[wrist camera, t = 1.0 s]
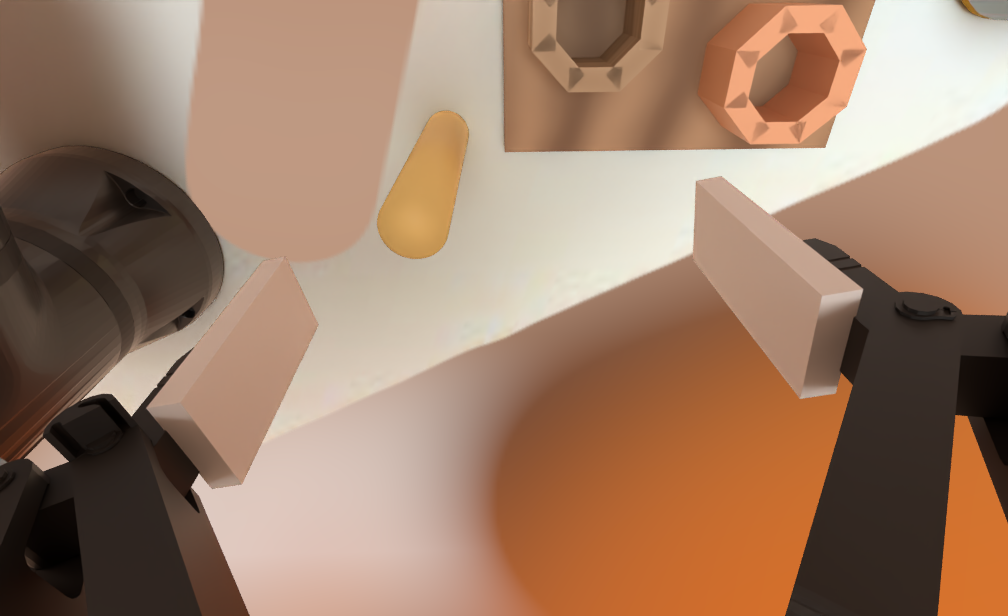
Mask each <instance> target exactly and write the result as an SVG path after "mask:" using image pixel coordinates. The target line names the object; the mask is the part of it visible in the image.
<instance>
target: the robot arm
mask: <svg viewBox="0 0 1008 616" xmlns="http://www.w3.org/2000/svg"><path fill="white" fill-rule="evenodd" d="M693 260H694V262H695V263H696V264H697V266H698V267H699V268H700V270H701V271H702V272H703V273H704V275H705V276H706V277H707V279H708V280H709V281H710V282H711V284H712V285H713V286H714V288H715V289H716V290H717V292H718V293H719V294H720V296H721V297H722V298H723V299H724V301H725V302H726V303H727V305H728V306H729V307H730V308H731V310H732V311H733V312H734V314H735V315H736V316H737V318H738V319H739V320H740V321H741V322H742V324H743V325H744V326H745V328H746V329H747V330H748V332H749V333H750V334H751V336H752V337H753V338H754V339H755V341H756V342H757V343H758V345H759V346H760V347H761V349H762V350H763V351H764V353H765V354H766V355H767V356H768V358H769V359H770V360H771V362H772V363H773V364H774V365H775V367H776V368H777V369H778V371H779V372H780V373H781V375H782V376H783V377H784V378H785V380H786V381H787V382H788V384H789V385H790V386H791V388H792V389H793V390H794V391H795V393H796V394H797V395H798V397H799V398H800V399H802V398H809V397H815V396H821V395H828V394H835V393H836V390H837V386H838V382H839V378H840V375H841V373H842V374H843V375H844V376H845V377H846V378H847V379H848V380H849V381H850V382H851V383H852V385H853V387H852V390H851V394H850V397H849V401H848V404H847V408H846V411H845V414H844V418H843V421H842V425H841V428H840V431H839V435H838V438H837V442H836V445H835V448H834V452H833V455H832V459H831V462H830V465H829V469H828V472H827V476H826V479H825V482H824V486H823V489H822V493H821V496H820V499H819V503H818V507H817V510H816V513H815V516H814V520H813V524H812V527H811V530H810V533H809V537H808V540H807V544H806V547H805V550H804V554H803V557H802V561H801V564H800V568H799V571H798V574H797V578H796V581H795V584H794V588H793V591H792V595H791V598H790V602H789V605H788V608H787V611H786V615H785V616H937V615H938V604H939V592H940V580H941V570H942V559H943V547H944V536H945V525H946V514H947V503H948V492H949V480H950V469H951V457H952V447H953V435H954V423H955V415H962V416H968V419H969V421H970V424H971V427H972V429H973V432H974V435H975V437H976V440H977V442H978V445H979V448H980V451H981V453H982V456H983V458H984V461H985V464H986V466H987V469H988V472H989V474H990V477H991V480H992V482H993V485H994V487H995V490H996V493H997V495H998V498H999V501H1000V503H1001V506H1002V509H1003V511H1004V514H1005V517H1006V519H1007V522H1008V313H1007V315H1006V316H995V315H963V314H962V312H961V310H959V309H958V308H957V307H956V306H955V305H953V304H952V303H950V302H948V301H946V300H944V299H942V298H939V297H936V296H932V295H928V294H924V293H915V292H898V291H896V290H895V289H893V288H892V287H891V286H889V285H888V284H887V283H885V282H884V281H883V280H881V279H880V278H879V277H877V276H876V275H875V274H873V273H872V272H871V271H869V270H868V269H866V268H865V267H861V264H859V263H858V262H857V261H856V260H854V259H850V256H849V255H847V254H846V253H844V252H843V251H842V250H841V249H839V248H838V247H836V246H835V245H832V244H829V243H826V242H824V241H821V240H818V239H816V238H815V239H808V240H803V241H802V240H801V239H800V238H798V237H797V236H796V235H795V234H793V233H792V232H791V231H789V230H788V229H787V228H786V227H784V226H783V225H782V224H781V223H779V222H778V221H777V220H776V219H774V218H773V217H772V216H771V215H769V214H768V213H767V212H766V211H764V210H763V209H762V208H761V207H759V206H758V205H757V204H756V203H754V202H753V201H752V200H751V199H749V198H748V197H747V196H745V195H744V194H743V193H742V192H740V191H739V190H738V189H737V188H735V187H734V186H733V185H732V184H730V183H729V182H728V181H727V180H725V179H724V178H723V177H722V176H721V177H715V178H710V179H704V180H699V181H696V193H695V219H694V245H693ZM222 280H223V259H222V253H221V249H220V246H219V243H218V241H217V238H216V236H215V234H214V232H213V230H212V228H211V226H210V224H209V223H208V221H207V220H206V218H205V216H204V215H203V214H202V212H201V211H200V210H199V209H198V207H197V206H196V205H195V204H194V203H193V202H192V200H191V199H190V198H189V197H188V196H187V195H186V194H185V193H184V192H183V191H182V190H180V189H179V188H178V187H177V186H176V185H175V184H173V183H172V182H171V181H169V180H168V179H167V178H165V177H164V176H163V175H161V174H160V173H158V172H156V171H155V170H153V169H152V168H150V167H148V166H146V165H144V164H143V163H140V162H138V161H136V160H134V159H132V158H130V157H127V156H125V155H122V154H119V153H116V152H112V151H109V150H105V149H101V148H95V147H87V146H66V147H59V148H54V149H50V150H47V151H44V152H42V153H39V154H36V155H33V156H31V157H28V158H25V159H23V160H21V161H18V162H17V163H15V164H13V165H12V166H10V167H9V168H7V169H6V170H5V171H3V172H2V173H1V174H0V616H250V615H249V614H248V611H247V609H246V606H245V604H244V601H243V599H242V597H241V594H240V592H239V590H238V587H237V585H236V582H235V580H234V578H233V575H232V573H231V571H230V568H229V566H228V564H227V561H226V559H225V556H224V554H223V552H222V550H221V547H220V545H219V543H218V540H217V538H216V535H215V533H214V531H213V528H212V526H211V524H210V521H209V519H208V517H207V514H206V512H205V509H204V507H203V505H202V502H201V500H200V498H199V496H198V495H197V493H196V492H195V491H194V490H193V489H192V488H191V486H192V484H193V483H194V481H195V479H196V477H197V476H198V474H200V475H201V476H202V477H203V478H204V480H205V481H206V482H207V484H208V485H209V486H210V487H211V488H212V489H215V488H221V487H227V486H234V485H241V484H242V483H243V481H244V479H245V477H246V475H247V473H248V471H249V469H250V466H251V464H252V462H253V460H254V458H255V456H256V454H257V452H258V450H259V448H260V446H261V444H262V441H263V439H264V437H265V435H266V433H267V431H268V429H269V427H270V425H271V423H272V421H273V419H274V416H275V414H276V412H277V410H278V408H279V406H280V404H281V402H282V400H283V398H284V396H285V394H286V391H287V389H288V387H289V385H290V383H291V381H292V379H293V377H294V375H295V373H296V371H297V369H298V366H299V364H300V362H301V360H302V358H303V356H304V354H305V352H306V350H307V348H308V346H309V343H310V341H311V339H312V337H313V335H314V333H315V331H316V329H317V327H318V323H317V321H316V319H315V317H314V314H313V312H312V310H311V308H310V306H309V304H308V302H307V300H306V298H305V296H304V294H303V292H302V289H301V287H300V285H299V283H298V281H297V279H296V277H295V275H294V273H293V271H292V269H291V267H290V264H289V262H288V260H287V258H286V257H280V258H275V259H269V260H264V261H262V263H261V264H260V265H259V266H258V268H257V269H256V270H255V272H254V273H253V274H252V275H251V277H250V278H249V279H248V280H247V282H246V283H245V284H244V285H243V287H242V288H241V289H240V290H239V292H238V293H237V294H236V296H235V297H234V298H233V299H232V301H231V302H230V303H229V304H228V306H227V307H226V308H225V309H224V311H223V312H222V313H221V314H220V316H219V317H218V318H217V319H216V321H215V322H214V323H213V325H212V326H211V327H210V328H209V330H208V331H207V332H206V333H205V335H204V336H203V337H202V338H201V340H200V341H199V342H198V343H197V345H196V346H195V347H194V348H192V349H191V350H190V351H189V352H187V353H186V354H185V355H184V356H182V357H181V358H180V359H178V360H177V361H176V362H175V364H174V365H173V366H172V367H171V369H170V370H169V371H168V372H167V374H166V377H163V379H162V380H161V381H160V382H159V383H158V385H157V388H154V390H153V391H152V392H151V393H150V395H149V396H148V397H147V398H146V399H145V401H144V402H143V403H142V404H141V406H140V407H139V408H138V409H137V411H136V412H135V413H134V414H133V416H132V417H131V416H130V415H129V413H128V412H127V411H126V410H125V409H124V408H123V406H122V405H121V404H120V403H119V402H118V400H117V399H116V398H115V397H114V396H113V395H112V394H100V395H96V396H92V397H89V398H87V399H84V400H82V399H83V398H84V397H85V396H86V395H87V394H88V393H89V392H90V391H91V390H92V389H93V388H94V387H95V386H96V385H97V384H98V383H99V382H100V381H101V380H102V379H103V378H104V377H105V375H106V374H107V373H108V372H109V371H110V370H111V369H112V368H113V367H114V366H115V365H116V364H117V363H118V362H119V361H120V360H121V359H122V358H123V357H124V356H125V355H127V354H128V353H130V352H133V351H135V350H137V349H139V348H142V347H144V346H146V345H148V344H151V343H153V342H155V341H157V340H159V339H162V338H164V337H166V336H168V335H171V334H173V333H175V332H177V331H180V330H181V329H183V328H185V327H187V326H188V325H189V324H191V323H192V322H194V321H195V320H196V319H197V318H198V317H199V316H200V315H201V314H202V313H203V312H204V311H205V310H206V308H207V307H208V306H209V305H210V304H211V303H212V302H213V300H214V299H215V298H216V296H217V294H218V292H219V290H220V287H221V284H222ZM81 400H82V401H81ZM44 438H45V439H46V440H47V441H48V442H49V443H51V445H53V446H54V447H55V448H56V449H57V450H58V451H59V452H60V453H61V454H62V455H63V456H64V457H65V458H66V459H67V460H68V461H69V462H67V463H65V464H62V465H59V466H57V467H54V468H51V469H49V470H46V471H42V470H41V469H40V468H39V467H37V466H36V465H35V464H34V463H33V462H32V461H30V460H29V459H24V458H25V457H26V456H27V455H28V454H29V453H30V452H31V451H32V450H33V449H34V448H35V447H36V446H37V445H38V444H39V443H40V442H41V441H42V440H43V439H44Z"/></svg>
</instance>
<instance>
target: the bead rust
mask: <svg viewBox="0 0 1008 616" xmlns="http://www.w3.org/2000/svg"><path fill="white" fill-rule="evenodd" d="M786 35H788V36H789V38H790V40H791V41H792V43H793V44H794V46H795V48H796V49H797V51H798V52H797V56H796V60H795V63H794V67H793V70H792V74H791V77H790V81H789V84H788V85H787V86H786V87H785V88H783V89H782V90H781V91H780V92H779V93H777V94H776V95H775V96H774V97H773V98H771V99H770V100H769V101H768V102H767V103H766V104H764V105H763V106H753V104H752V103H751V101H750V100H749V98H748V97H749V93H750V89H751V85H752V81H753V77H754V73H755V68H756V64H757V61H758V60H759V59H761V58H762V57H763V56H764V55H765V54H766V53H767V52H768V51H770V50H771V49H772V48H773V47H774V46H775V45H776V44H777V43H779V42H780V41H781V40H782V39H783V38H784V37H785V36H786ZM866 50H867V49H866V47H865V45H864V43H863V42H862V40H861V38H860V36H859V34H858V32H857V31H856V29H855V27H854V25H853V23H852V21H851V20H850V18H849V16H848V14H847V12H846V10H845V9H844V7H843V5H832V4H811V3H750V4H748V5H747V6H746V7H745V8H744V9H743V10H742V11H741V12H739V13H738V14H737V15H736V16H735V17H734V18H733V19H732V20H731V21H730V22H729V23H728V24H727V25H726V26H725V27H724V28H723V29H721V30H720V31H719V32H718V33H717V34H716V35H715V36H714V37H713V38H712V39H711V40H710V41H709V42H708V43H707V46H706V51H705V56H704V61H703V67H702V72H701V77H700V83H699V88H698V93H697V94H698V96H699V97H700V98H701V100H702V101H703V102H704V104H705V105H706V106H707V108H708V109H709V110H710V112H711V113H712V114H713V116H714V117H715V118H716V120H717V121H718V122H719V124H720V125H721V126H722V127H723V128H725V129H727V130H728V131H730V132H731V133H733V134H735V135H736V136H738V137H739V138H741V139H743V140H744V141H746V142H747V143H749V144H800V143H801V142H802V141H803V140H805V139H806V138H807V137H809V136H810V135H811V134H812V133H814V132H815V131H816V130H817V129H819V128H820V127H821V126H823V125H824V124H825V123H826V122H828V121H829V120H830V119H831V118H833V117H834V116H835V115H837V114H838V113H839V112H840V111H842V110H843V109H844V108H845V107H847V104H848V101H849V99H850V96H851V93H852V90H853V87H854V84H855V81H856V78H857V76H858V73H859V70H860V67H861V64H862V61H863V58H864V56H865V53H866Z"/></svg>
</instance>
